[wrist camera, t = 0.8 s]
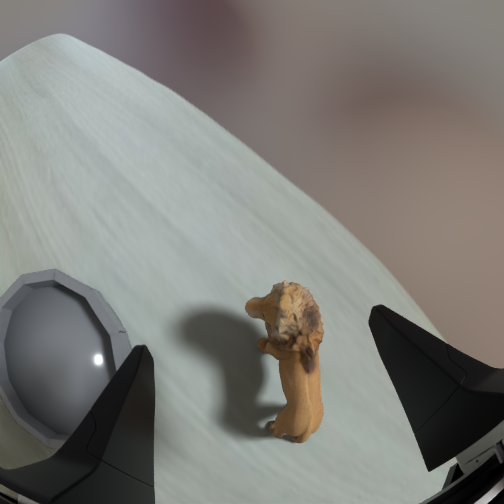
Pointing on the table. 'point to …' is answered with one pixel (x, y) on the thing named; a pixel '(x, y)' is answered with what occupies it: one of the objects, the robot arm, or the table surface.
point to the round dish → (56, 352)
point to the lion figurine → (293, 355)
